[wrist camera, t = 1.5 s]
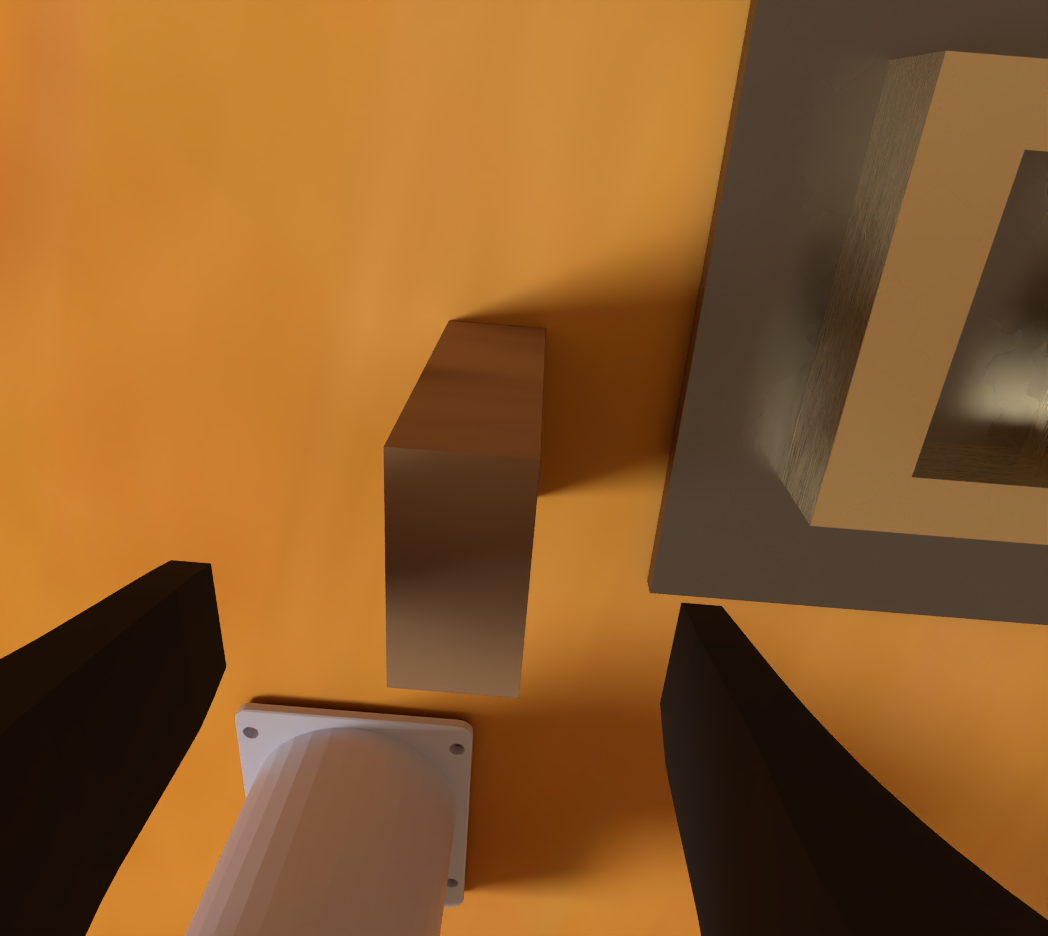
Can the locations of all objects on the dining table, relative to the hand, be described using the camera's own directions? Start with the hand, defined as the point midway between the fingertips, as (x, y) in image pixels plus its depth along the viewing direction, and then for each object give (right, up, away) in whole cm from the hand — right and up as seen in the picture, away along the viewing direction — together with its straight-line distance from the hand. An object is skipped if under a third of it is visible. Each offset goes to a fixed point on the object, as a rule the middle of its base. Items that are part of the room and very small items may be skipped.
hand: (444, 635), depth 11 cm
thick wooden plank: (0, +4, +9) cm, 10 cm away
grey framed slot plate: (+13, +7, +7) cm, 16 cm away
